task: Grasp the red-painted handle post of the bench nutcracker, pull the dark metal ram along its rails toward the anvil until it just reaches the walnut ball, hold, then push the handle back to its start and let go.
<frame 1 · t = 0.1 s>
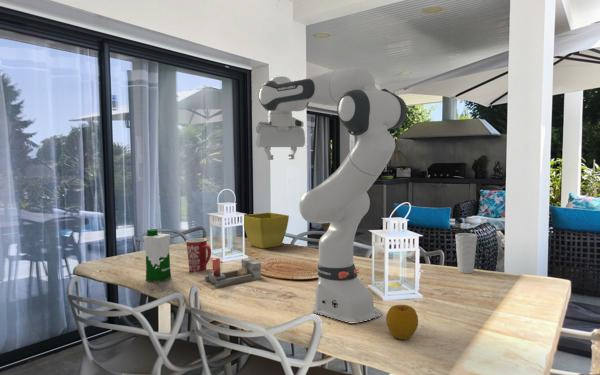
hand: (281, 159, 163), 48 cm above the table, fingers open, 8 cm apart
milk carton: (158, 279, 177), on the table
apple: (401, 338, 117), on the table
flower pot: (266, 245, 239), on the table
mug: (200, 271, 188), on the table
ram: (216, 270, 165), point 6 cm above the table, slide at 0.0 cm
cup: (465, 272, 180), on the table
nut: (242, 277, 172), point 1 cm above the table, touching cracker bed
cracker bed: (231, 283, 169), on the table
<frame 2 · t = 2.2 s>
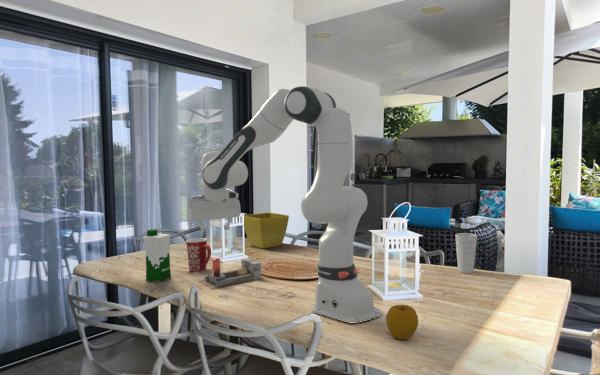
hand: (215, 231, 164), 21 cm above the table, fingers open, 8 cm apart
nothing on the table moved.
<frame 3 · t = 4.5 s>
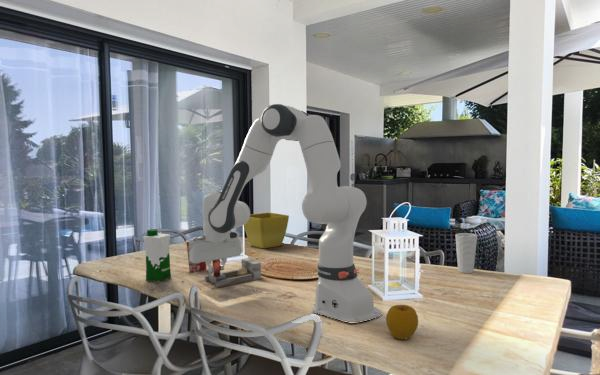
hand: (216, 270, 165), 6 cm above the table, fingers closed on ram, 3 cm apart
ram: (216, 270, 165), point 6 cm above the table, slide at 0.0 cm, touching gripper
everything else where it was.
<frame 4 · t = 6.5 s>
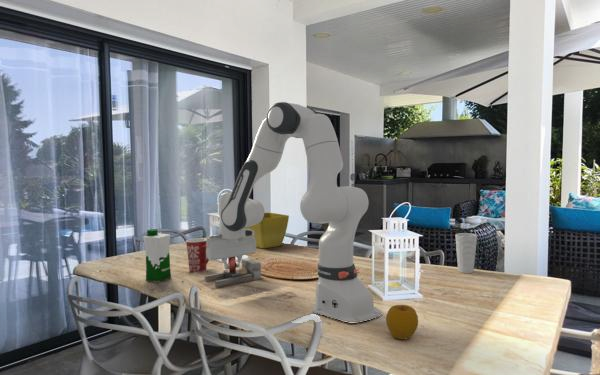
hand: (232, 268, 169), 6 cm above the table, fingers closed on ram, 3 cm apart
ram: (232, 267, 169), point 6 cm above the table, slide at 6.6 cm, touching gripper
everything else where it was.
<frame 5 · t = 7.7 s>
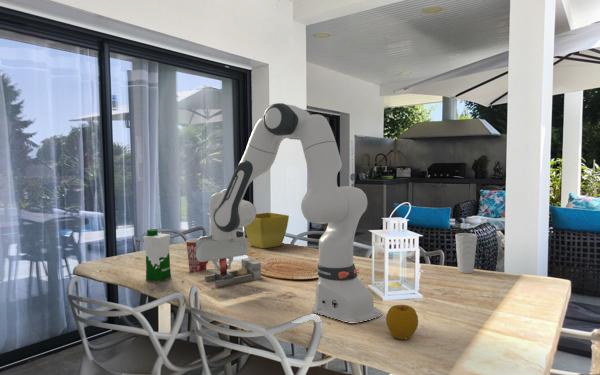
hand: (223, 269, 167), 6 cm above the table, fingers closed on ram, 3 cm apart
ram: (223, 269, 167), point 6 cm above the table, slide at 2.8 cm, touching gripper
everything else where it was.
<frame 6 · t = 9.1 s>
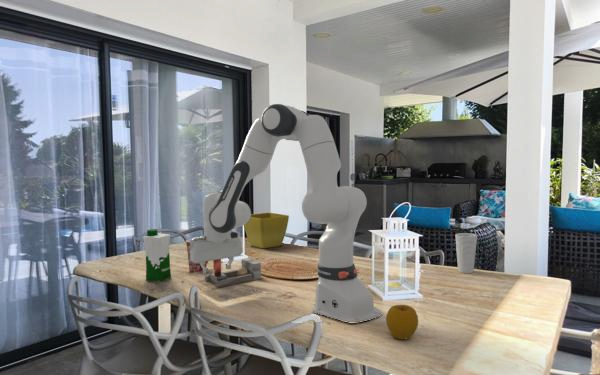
hand: (217, 270, 165), 6 cm above the table, fingers open, 8 cm apart
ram: (217, 270, 165), point 6 cm above the table, slide at 0.4 cm
everything else where it was.
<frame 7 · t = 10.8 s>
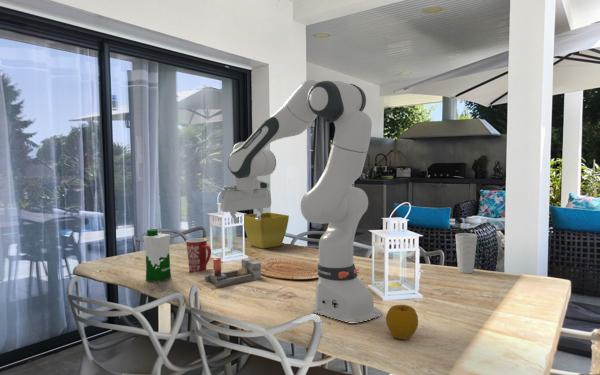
hand: (247, 221, 164), 25 cm above the table, fingers open, 8 cm apart
nothing on the table moved.
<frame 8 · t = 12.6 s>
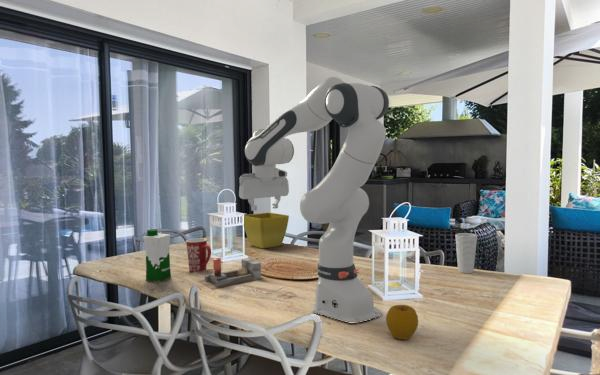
hand: (264, 209, 165), 29 cm above the table, fingers open, 8 cm apart
nothing on the table moved.
at the end: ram slide at 0.4 cm; nut 0.0 cm from the target spot on the cracker bed, point 1.5 cm above the cracker bed's base; nut moved 0.1 cm from its start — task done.
